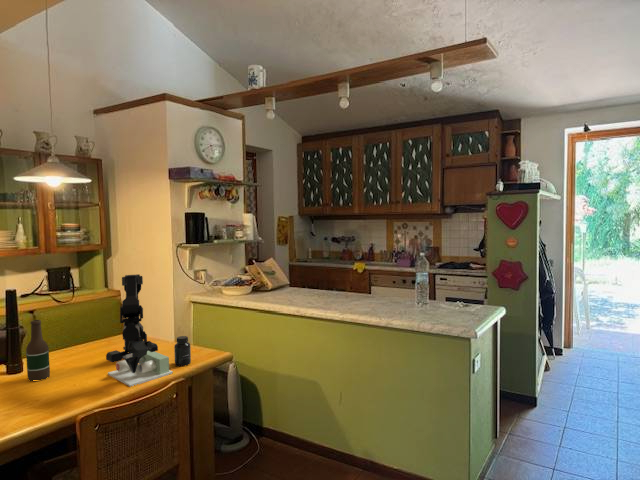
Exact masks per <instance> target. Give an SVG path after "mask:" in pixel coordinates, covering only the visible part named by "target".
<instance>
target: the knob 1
mask: <svg viewBox="0 0 640 480" xmlns="http://www.w3.org/2000/svg"><path fill="white" fill-rule="evenodd" d="M142 362H146V357H144V358H141V359H140V360H139V363H142ZM139 363H138V364H139ZM115 369H116V370H117V371H118V372H120V371H123V370H127V369H130V368H129V366H128V364H127V362H126V361H125V359H122V360H120V361H117V362H115Z"/></svg>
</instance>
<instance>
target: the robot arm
mask: <svg viewBox="0 0 640 480" xmlns="http://www.w3.org/2000/svg"><path fill="white" fill-rule="evenodd" d="M143 278H144V277H143V275H140V274H125V275H124V276H122V277H121V286H123V288H124V292H125V299H124V300H122V303H121V306H119V319H120V320H119V323H120V324H123V329H122V334H121V335H122V340H124V346H123V348H122V349H123V350H124V351H120V350H116V349H115V350H113V351H112V350H111V351H108V352H107V353H106V355H105V359H106V361H109V362H110V363H117V362H119V361H123V360H125V361H126V362H127V364H128V366H129V368H130V370H131V372H132V373H135V371H136V368H137V365H138V364H139V360H140V359H141V358H142V357H143V356H144V355H147V351H150V352H158V350H159V346H158V344H157V343H154V342H152V341H151V340H148V335H147V333H146V331H145V330H144V326H143V325H142V324H141V322H142V321H143V320H142V319H144V307H143V306H142V305H140V299H139V293H140V292H141V291H142V285H144V284H143V282H144V279H143Z"/></svg>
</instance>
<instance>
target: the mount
mask: <svg viewBox="0 0 640 480" xmlns="http://www.w3.org/2000/svg"><path fill="white" fill-rule="evenodd" d="M144 357H146V362H147V361H150V360H155V361H156V363H157V368H156V369H155V370H151V371H148V372H144V373H140V372H139V370H138V365H139V364H140V363H138V365H137V368H136V371H135V373H132V372H131V370H130V369H127V370H123V371H120V372H118V371H117V369H116V370H112V371H108V372H107V375H108V376H109V377H112V378H113V379H115V380H116V381H119V382H121V383H122V384H124V385H126V386H128V387H130V388H132V387H134V385H135V386H138V385H141V384H144V383H147V382H150V381H153V380H157V379H159V378H163V377H166V376H169V374H170V375H173V374H172V373H174V371H173V370H170V360H169V359H170V357H169V356H168V355H164V354H162V353H160V352H158V351H155V352H150V351H147V355H144V356H143V357H142V358H144ZM142 363H143V362H142ZM137 384H138V385H137ZM131 386H132V387H131Z"/></svg>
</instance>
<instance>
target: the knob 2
mask: <svg viewBox="0 0 640 480" xmlns="http://www.w3.org/2000/svg"><path fill="white" fill-rule="evenodd" d="M138 364H139V363H138ZM156 368H157V363H156V361H155V360H150V361H147V362H143V363H140V364H139V365H138V370H139V372H140V373H144V372H148V371H151V370H155V369H156Z"/></svg>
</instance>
